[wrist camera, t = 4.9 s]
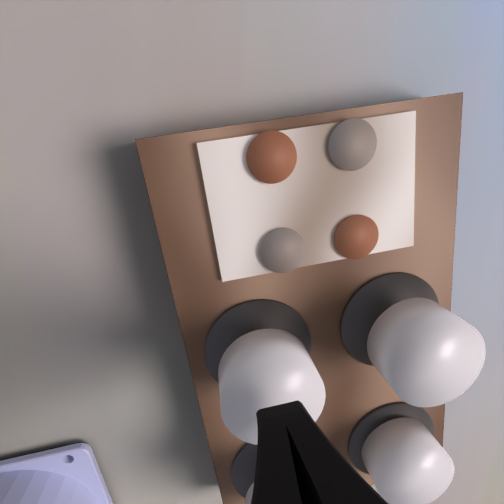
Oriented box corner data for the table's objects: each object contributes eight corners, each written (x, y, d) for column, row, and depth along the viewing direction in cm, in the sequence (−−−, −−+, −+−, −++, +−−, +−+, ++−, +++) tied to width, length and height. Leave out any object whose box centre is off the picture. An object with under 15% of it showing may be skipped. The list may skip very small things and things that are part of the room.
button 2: (368, 383, 14) (391, 417, 12) (365, 307, 13) (390, 332, 11) (447, 365, 14) (481, 395, 12) (452, 289, 13) (489, 311, 11)
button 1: (226, 416, 13) (230, 455, 12) (210, 339, 12) (211, 370, 10) (312, 396, 14) (329, 431, 12) (305, 320, 12) (321, 347, 11)
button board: (225, 485, 19) (228, 529, 17) (144, 140, 13) (132, 139, 11) (418, 436, 20) (445, 472, 18) (427, 99, 14) (470, 90, 12)
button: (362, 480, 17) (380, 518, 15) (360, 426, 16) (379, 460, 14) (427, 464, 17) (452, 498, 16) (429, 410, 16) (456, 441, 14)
